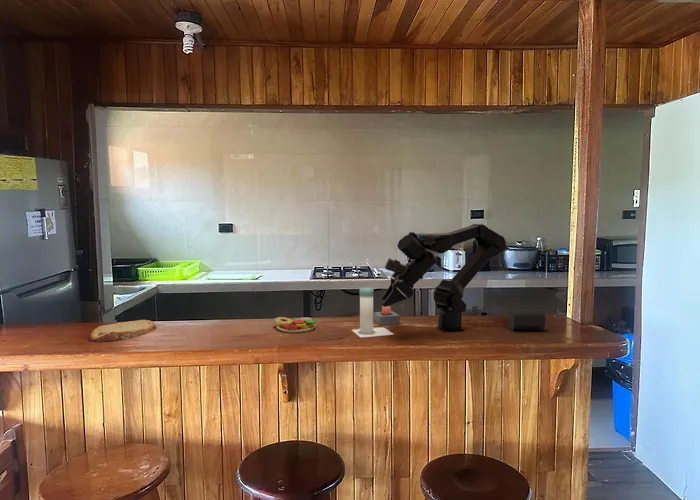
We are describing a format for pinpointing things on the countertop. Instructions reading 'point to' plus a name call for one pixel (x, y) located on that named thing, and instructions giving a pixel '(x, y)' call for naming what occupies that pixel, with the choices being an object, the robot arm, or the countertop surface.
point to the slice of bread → (121, 331)
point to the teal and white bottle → (366, 310)
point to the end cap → (527, 319)
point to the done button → (386, 310)
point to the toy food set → (294, 324)
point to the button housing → (386, 318)
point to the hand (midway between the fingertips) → (383, 302)
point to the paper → (374, 332)
